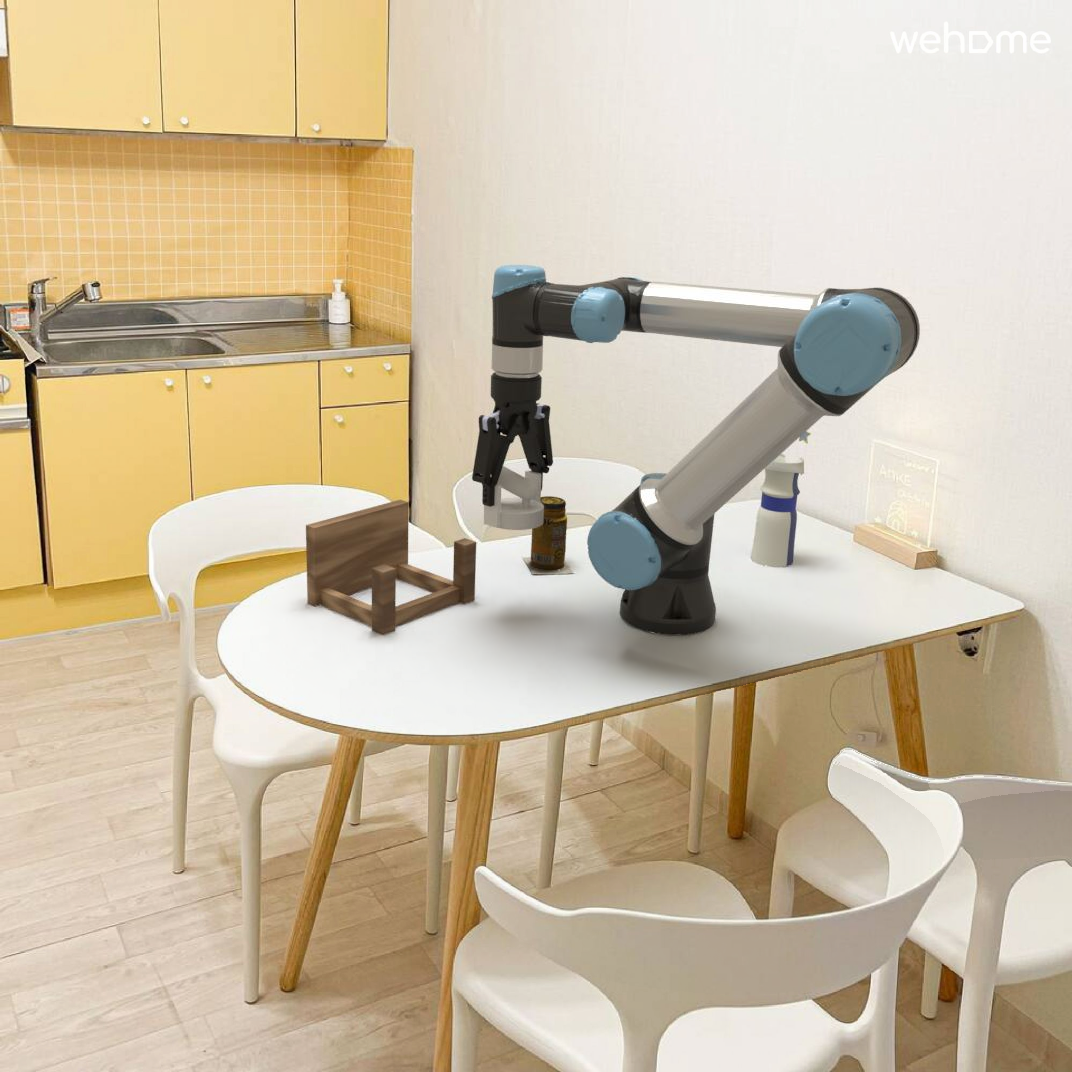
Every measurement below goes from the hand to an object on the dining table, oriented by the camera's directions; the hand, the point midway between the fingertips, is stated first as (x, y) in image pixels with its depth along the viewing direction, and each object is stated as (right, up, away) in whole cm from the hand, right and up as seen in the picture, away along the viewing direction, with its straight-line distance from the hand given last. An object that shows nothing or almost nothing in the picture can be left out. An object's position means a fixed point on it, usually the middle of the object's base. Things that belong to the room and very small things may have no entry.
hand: (512, 518), depth 178 cm
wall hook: (0, -1, 0) cm, 1 cm away
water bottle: (+47, -7, +35) cm, 59 cm away
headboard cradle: (-20, -13, +8) cm, 25 cm away
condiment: (+6, -8, +26) cm, 28 cm away
